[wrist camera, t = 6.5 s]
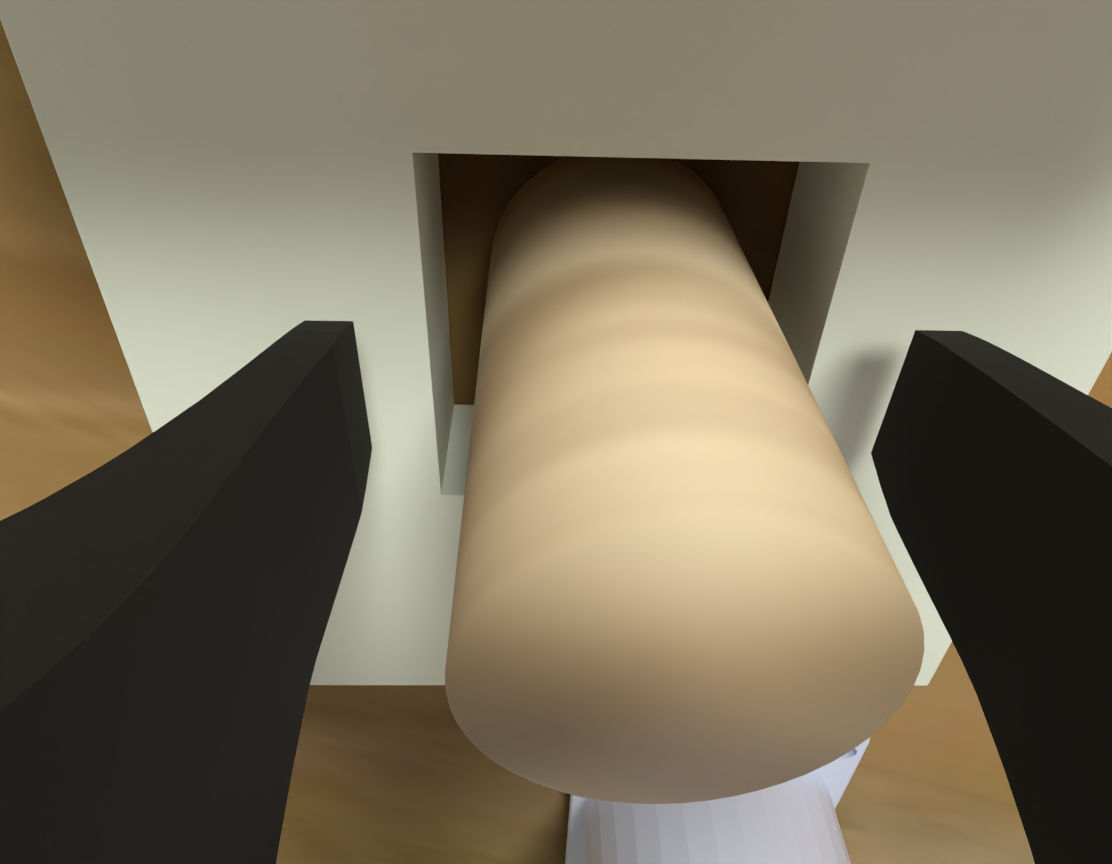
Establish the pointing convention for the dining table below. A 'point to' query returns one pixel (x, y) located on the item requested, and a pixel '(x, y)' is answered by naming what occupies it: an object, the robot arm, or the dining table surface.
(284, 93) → the socket board
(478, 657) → the peg
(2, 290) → the dining table surface
